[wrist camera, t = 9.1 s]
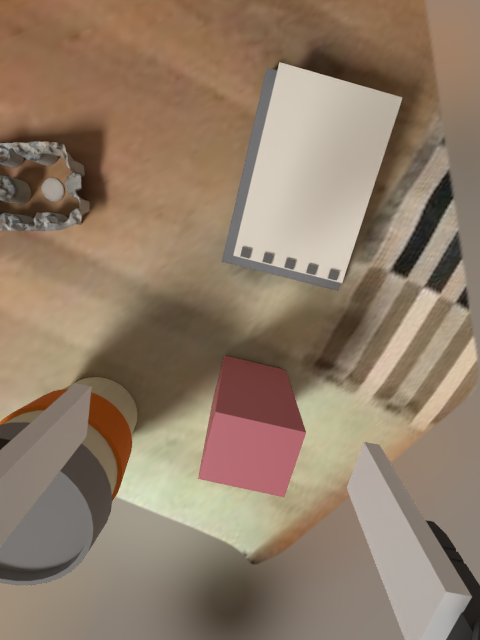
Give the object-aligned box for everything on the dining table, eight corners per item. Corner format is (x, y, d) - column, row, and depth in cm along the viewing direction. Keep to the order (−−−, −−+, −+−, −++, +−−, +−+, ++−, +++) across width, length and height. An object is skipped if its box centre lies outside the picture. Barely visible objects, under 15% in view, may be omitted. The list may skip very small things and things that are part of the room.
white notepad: (265, 76, 29) (270, 42, 24) (390, 111, 30) (420, 85, 25) (222, 260, 33) (219, 264, 28) (333, 288, 34) (349, 297, 29)
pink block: (224, 355, 36) (215, 411, 24) (285, 369, 36) (306, 432, 24) (212, 403, 37) (198, 478, 25) (271, 416, 37) (284, 497, 26)
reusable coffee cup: (53, 349, 36) (-76, 424, 21) (163, 378, 37) (111, 470, 22) (38, 444, 39) (-84, 567, 24) (141, 469, 40) (82, 603, 25)
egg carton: (87, 151, 31) (65, 138, 27) (95, 232, 33) (75, 230, 29) (-23, 150, 31) (-61, 136, 27) (-10, 230, 33) (-44, 229, 29)
